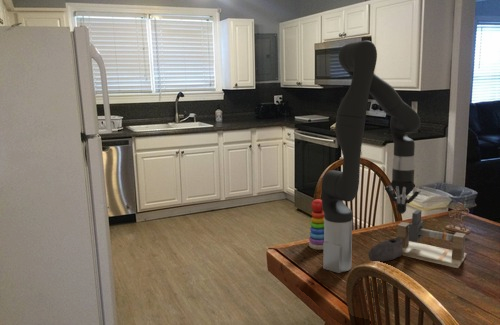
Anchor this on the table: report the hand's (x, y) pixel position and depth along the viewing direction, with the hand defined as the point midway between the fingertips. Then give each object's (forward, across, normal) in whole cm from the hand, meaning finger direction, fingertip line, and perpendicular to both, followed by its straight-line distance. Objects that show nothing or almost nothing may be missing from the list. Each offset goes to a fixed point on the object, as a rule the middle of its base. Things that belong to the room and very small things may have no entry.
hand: (401, 212), depth 157 cm
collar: (+9, +6, 0) cm, 11 cm away
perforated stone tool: (+14, 0, -13) cm, 19 cm away
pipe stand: (+14, +10, 0) cm, 17 cm away
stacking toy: (+14, -26, -16) cm, 33 cm away
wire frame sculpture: (+14, +13, +32) cm, 37 cm away
